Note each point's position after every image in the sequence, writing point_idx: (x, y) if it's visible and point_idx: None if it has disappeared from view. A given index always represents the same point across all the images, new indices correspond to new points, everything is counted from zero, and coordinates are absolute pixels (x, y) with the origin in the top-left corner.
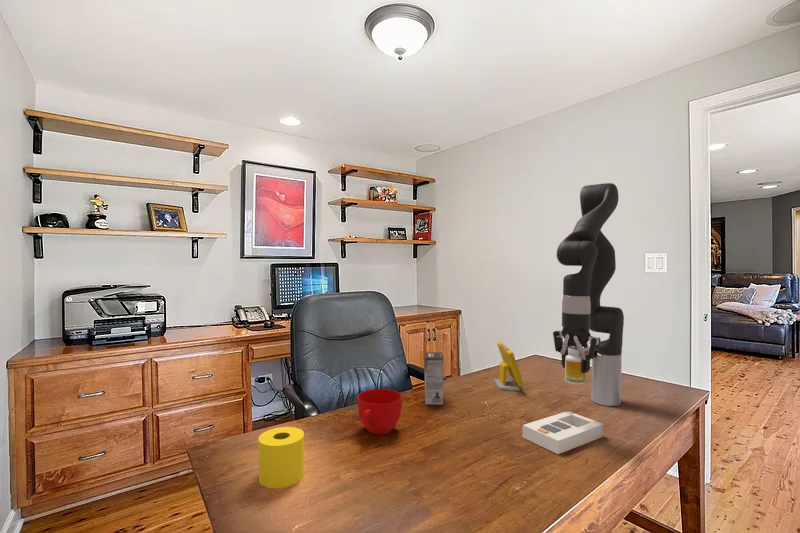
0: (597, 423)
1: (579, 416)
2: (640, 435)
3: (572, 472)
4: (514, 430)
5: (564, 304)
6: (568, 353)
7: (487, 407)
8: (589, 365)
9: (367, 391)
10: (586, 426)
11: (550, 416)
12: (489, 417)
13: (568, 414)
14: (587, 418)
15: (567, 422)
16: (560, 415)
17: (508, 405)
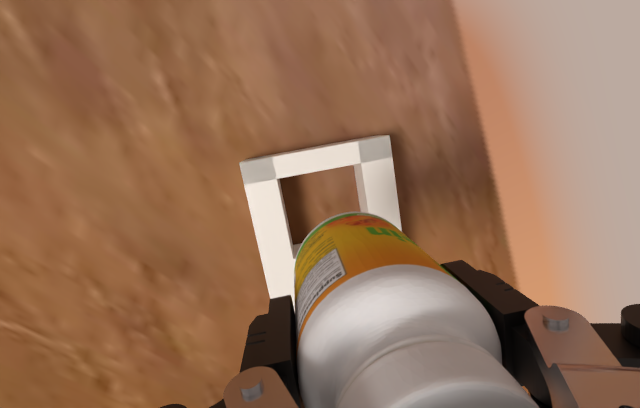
0: (376, 153)
1: (301, 163)
2: (422, 5)
3: None
4: (240, 355)
5: None
6: (277, 378)
7: (29, 335)
8: (517, 297)
9: None
10: (379, 210)
11: (262, 263)
12: (123, 372)
13: (270, 187)
14: (327, 149)
15: (282, 198)
16: (267, 223)
17: (26, 253)
